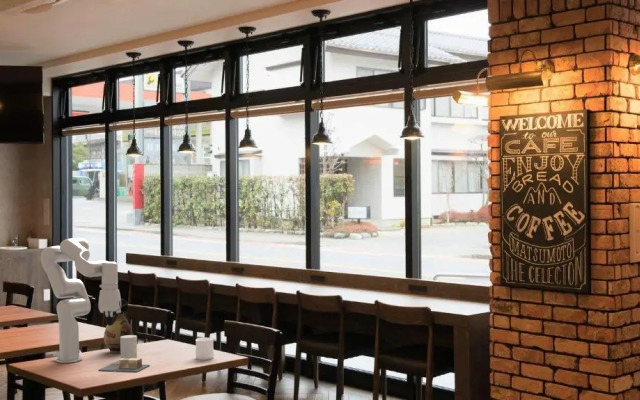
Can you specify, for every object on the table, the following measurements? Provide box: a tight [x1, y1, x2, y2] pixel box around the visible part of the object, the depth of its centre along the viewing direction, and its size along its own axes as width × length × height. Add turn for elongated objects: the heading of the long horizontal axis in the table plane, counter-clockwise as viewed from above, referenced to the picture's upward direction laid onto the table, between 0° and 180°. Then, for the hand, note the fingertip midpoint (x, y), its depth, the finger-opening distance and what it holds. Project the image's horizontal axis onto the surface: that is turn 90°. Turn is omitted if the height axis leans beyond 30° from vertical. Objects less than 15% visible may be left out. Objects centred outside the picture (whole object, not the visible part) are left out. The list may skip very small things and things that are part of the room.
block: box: [118, 357, 143, 369], centre depth 381 cm, size 4×4×10 cm
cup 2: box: [195, 337, 215, 361], centre depth 403 cm, size 10×10×10 cm
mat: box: [98, 363, 151, 373], centre depth 381 cm, size 20×14×1 cm
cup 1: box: [120, 334, 138, 359], centre depth 401 cm, size 8×8×12 cm
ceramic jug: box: [103, 298, 134, 354], centre depth 423 cm, size 17×15×30 cm
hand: (110, 324), depth 383 cm, fingers closed
